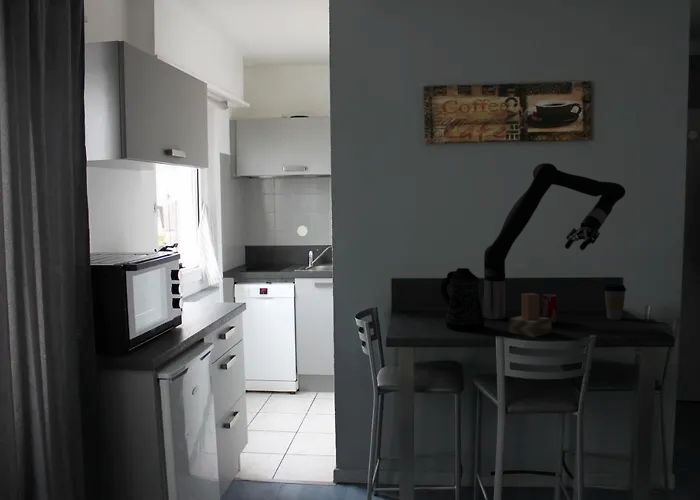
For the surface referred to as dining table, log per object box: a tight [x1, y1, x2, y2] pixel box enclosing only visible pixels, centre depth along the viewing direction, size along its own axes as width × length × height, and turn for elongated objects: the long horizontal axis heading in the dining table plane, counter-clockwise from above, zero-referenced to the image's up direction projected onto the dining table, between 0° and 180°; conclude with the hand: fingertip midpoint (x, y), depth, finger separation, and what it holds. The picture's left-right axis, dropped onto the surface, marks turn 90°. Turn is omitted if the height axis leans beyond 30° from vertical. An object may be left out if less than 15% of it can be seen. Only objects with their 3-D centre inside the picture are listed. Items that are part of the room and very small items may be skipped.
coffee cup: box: [603, 283, 627, 321], centre depth 280 cm, size 9×9×15 cm
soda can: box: [540, 293, 559, 324], centre depth 273 cm, size 7×7×12 cm
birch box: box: [508, 315, 552, 338], centre depth 253 cm, size 12×12×6 cm
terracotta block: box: [520, 292, 540, 320], centre depth 253 cm, size 5×5×10 cm
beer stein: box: [439, 267, 486, 332], centre depth 264 cm, size 16×19×25 cm
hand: (573, 248), depth 267 cm, fingers open, 8 cm apart
